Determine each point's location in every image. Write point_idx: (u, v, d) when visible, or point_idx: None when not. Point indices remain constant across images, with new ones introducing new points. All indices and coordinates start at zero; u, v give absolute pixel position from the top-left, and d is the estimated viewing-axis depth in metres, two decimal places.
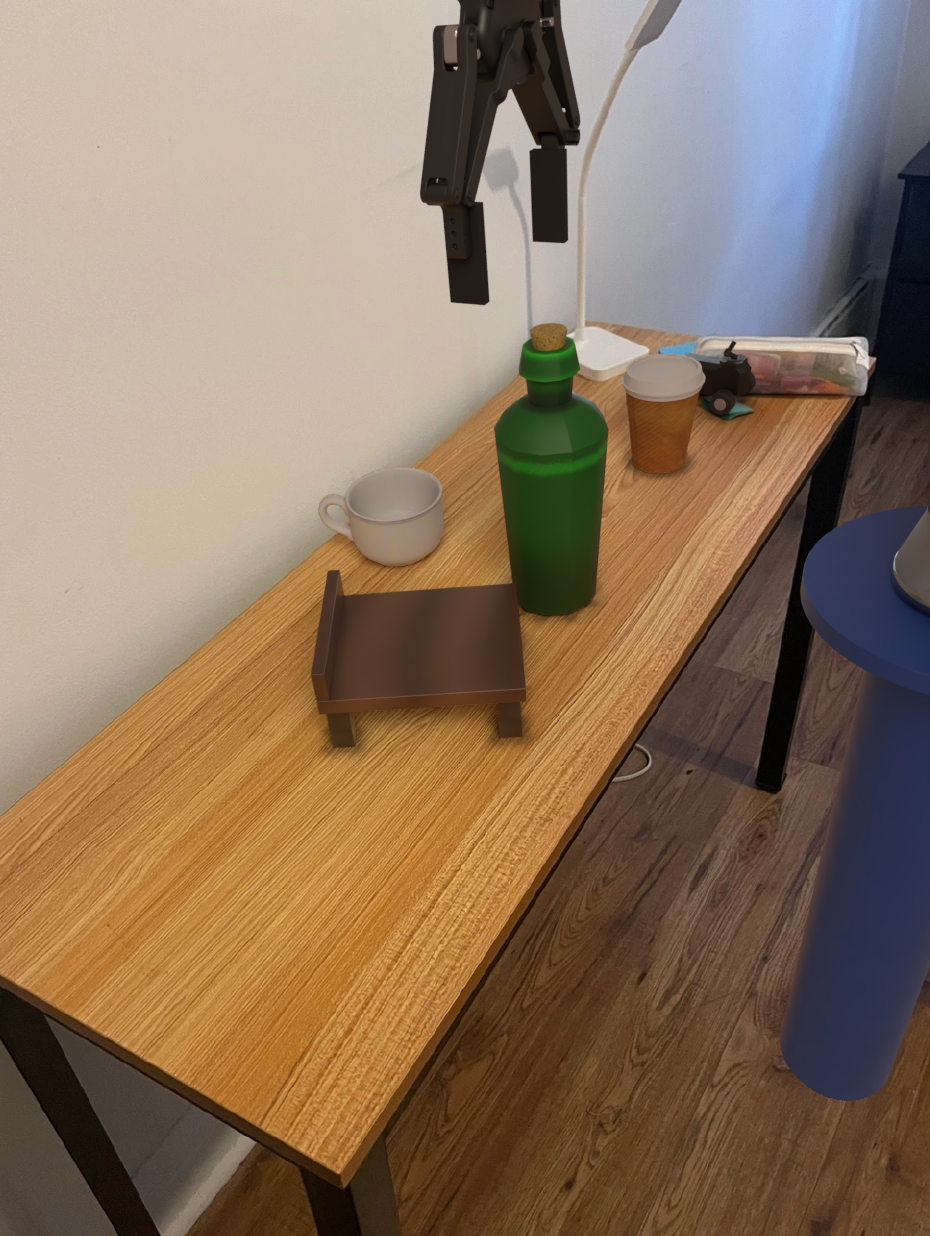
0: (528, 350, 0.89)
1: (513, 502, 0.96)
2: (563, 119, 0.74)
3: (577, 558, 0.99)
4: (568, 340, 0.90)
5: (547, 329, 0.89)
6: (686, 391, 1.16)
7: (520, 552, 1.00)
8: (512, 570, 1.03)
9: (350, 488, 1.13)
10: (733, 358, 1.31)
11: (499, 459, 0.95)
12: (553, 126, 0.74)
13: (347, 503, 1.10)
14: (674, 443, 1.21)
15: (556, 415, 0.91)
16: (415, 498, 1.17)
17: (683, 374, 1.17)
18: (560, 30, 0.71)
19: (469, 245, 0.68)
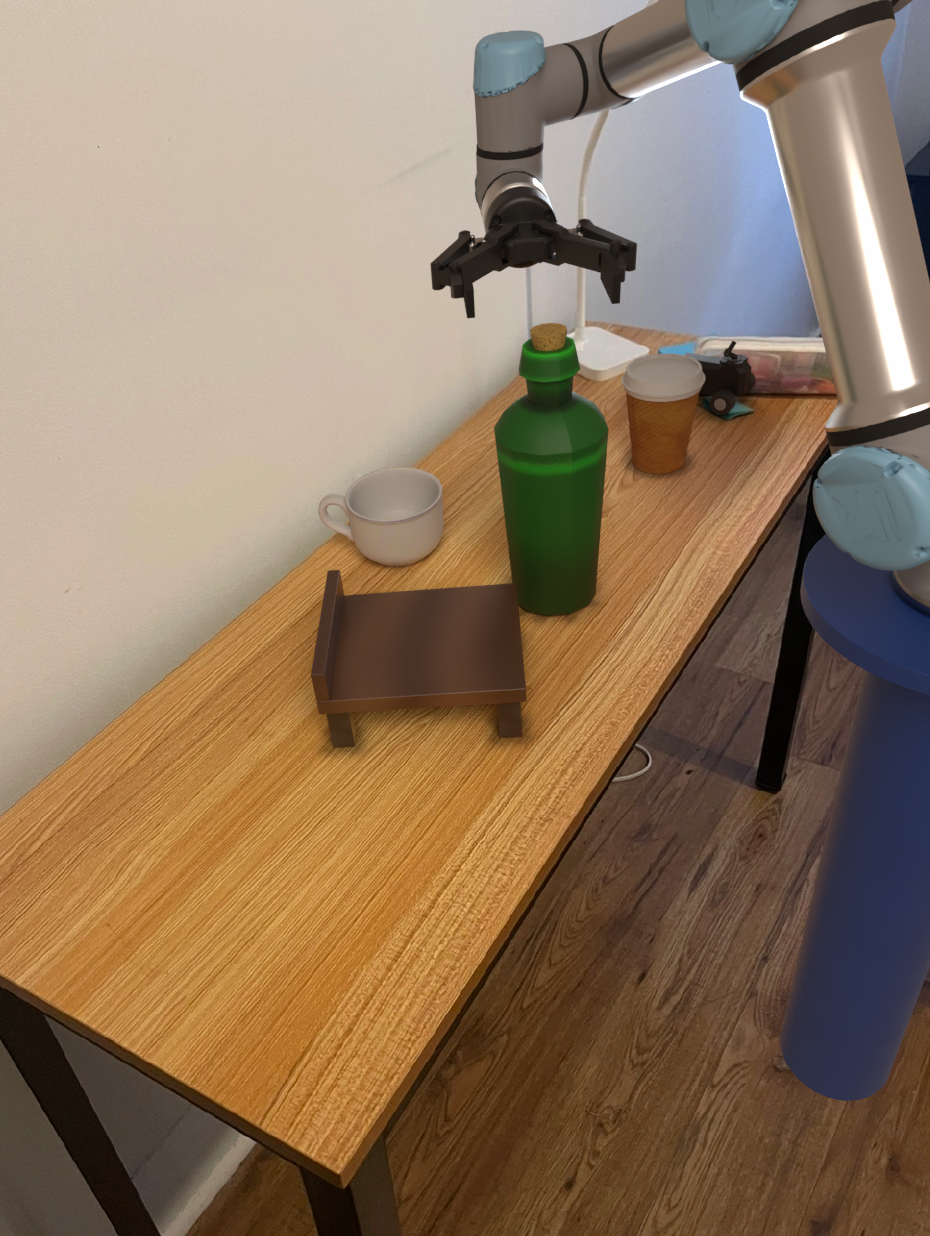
0: (528, 350, 0.89)
1: (513, 502, 0.96)
2: (603, 244, 1.00)
3: (577, 558, 0.99)
4: (568, 340, 0.90)
5: (547, 329, 0.89)
6: (686, 391, 1.16)
7: (520, 552, 1.00)
8: (512, 570, 1.03)
9: (350, 488, 1.13)
10: (733, 358, 1.31)
11: (499, 459, 0.95)
12: (594, 250, 1.00)
13: (347, 503, 1.10)
14: (674, 443, 1.21)
15: (556, 415, 0.91)
16: (415, 498, 1.17)
17: (683, 374, 1.17)
18: (592, 226, 1.04)
19: (459, 280, 0.98)
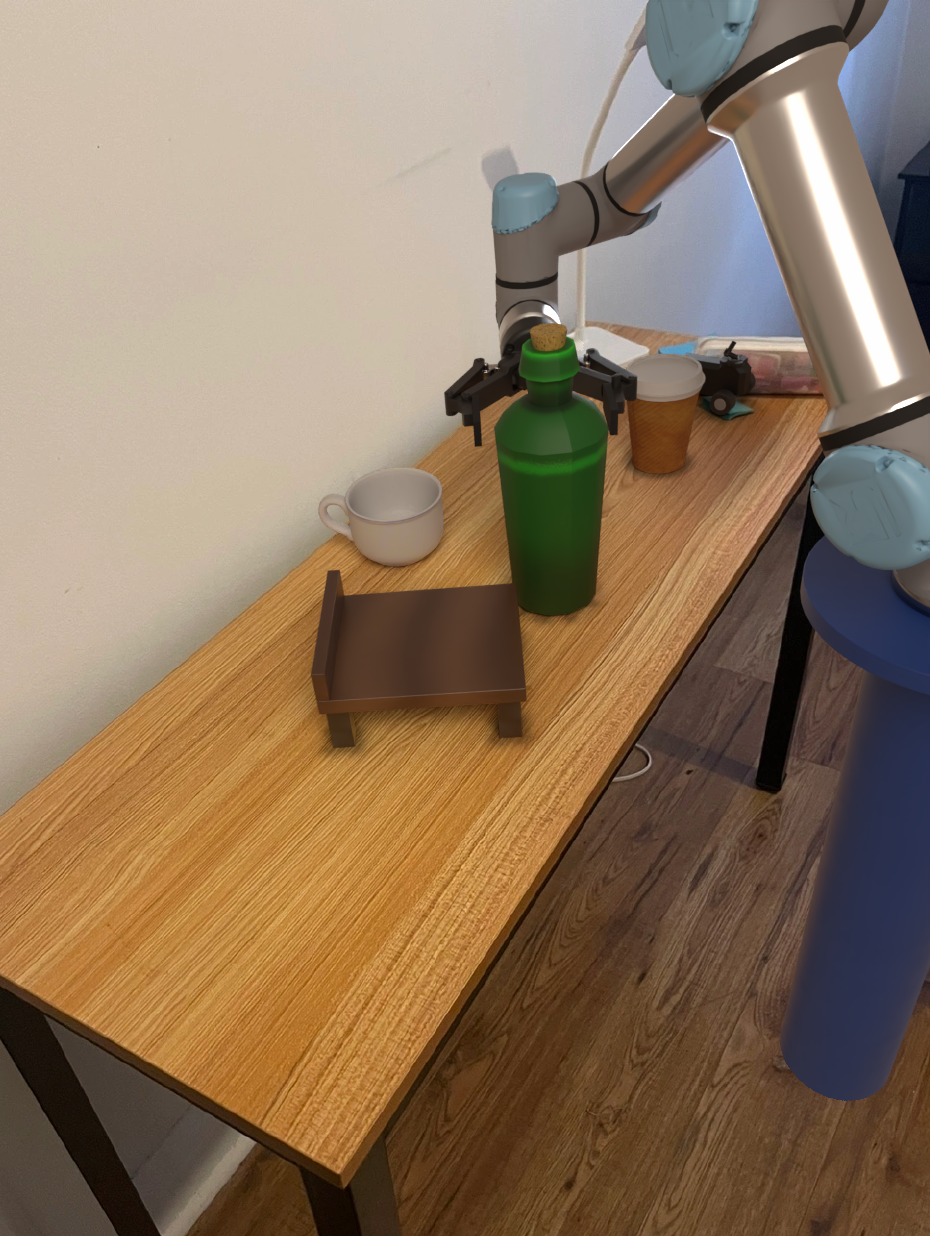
0: (528, 350, 0.89)
1: (513, 502, 0.96)
2: (606, 376, 1.07)
3: (577, 558, 0.99)
4: (568, 340, 0.90)
5: (547, 329, 0.89)
6: (686, 391, 1.16)
7: (520, 552, 1.00)
8: (512, 570, 1.03)
9: (350, 488, 1.13)
10: (733, 358, 1.31)
11: (499, 459, 0.95)
12: (597, 381, 1.07)
13: (347, 503, 1.10)
14: (674, 443, 1.21)
15: (556, 415, 0.91)
16: (415, 498, 1.17)
17: (683, 374, 1.17)
18: (598, 356, 1.11)
19: (468, 410, 1.05)
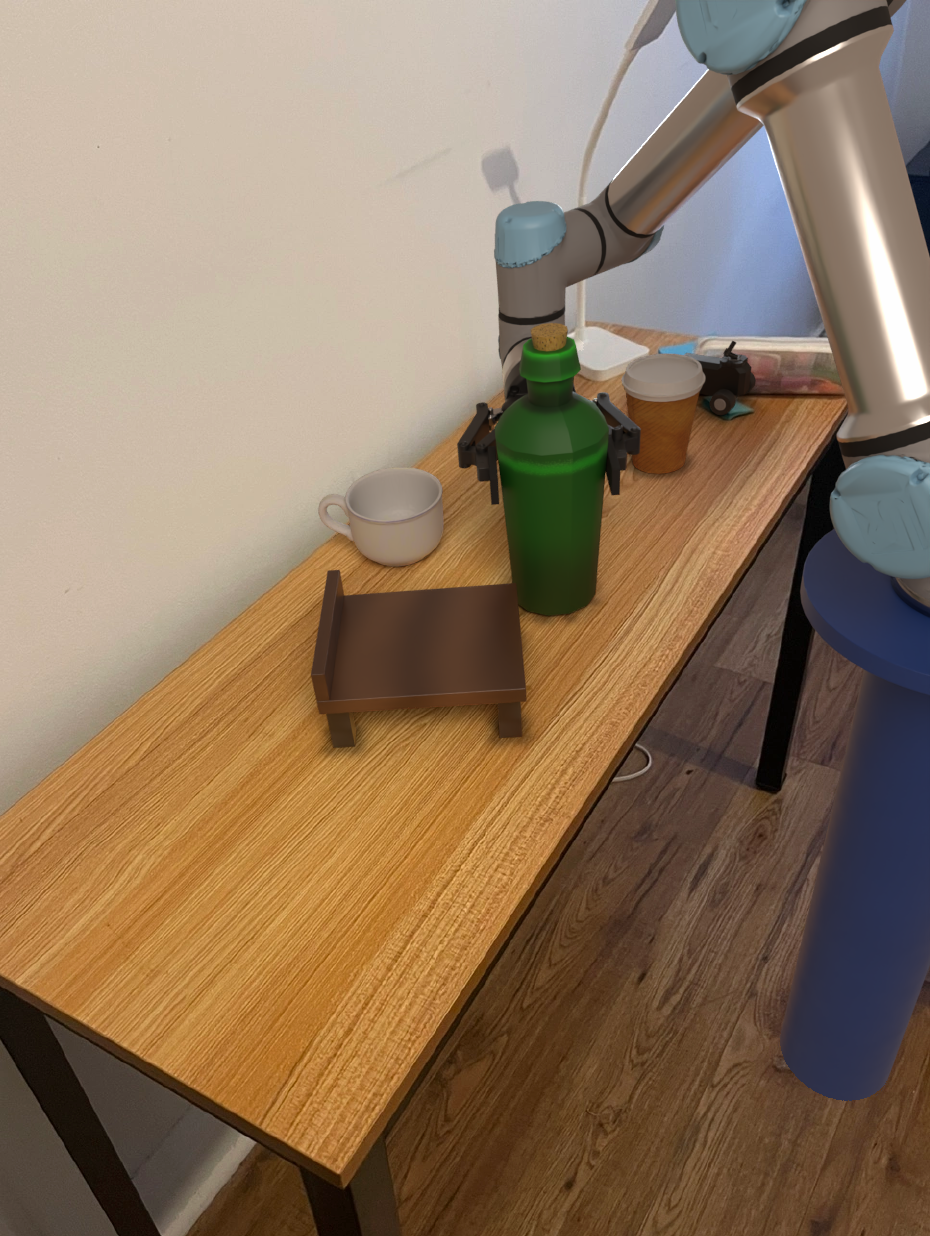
0: (528, 350, 0.89)
1: (514, 502, 0.96)
2: (608, 427, 0.99)
3: (577, 558, 0.99)
4: (569, 340, 0.90)
5: (548, 329, 0.89)
6: (686, 391, 1.16)
7: (520, 552, 1.00)
8: (512, 570, 1.03)
9: (350, 488, 1.13)
10: (733, 358, 1.31)
11: (499, 459, 0.95)
12: None
13: (347, 503, 1.10)
14: (674, 443, 1.21)
15: (557, 416, 0.91)
16: (415, 498, 1.17)
17: (683, 374, 1.17)
18: (608, 402, 1.03)
19: (484, 464, 0.97)
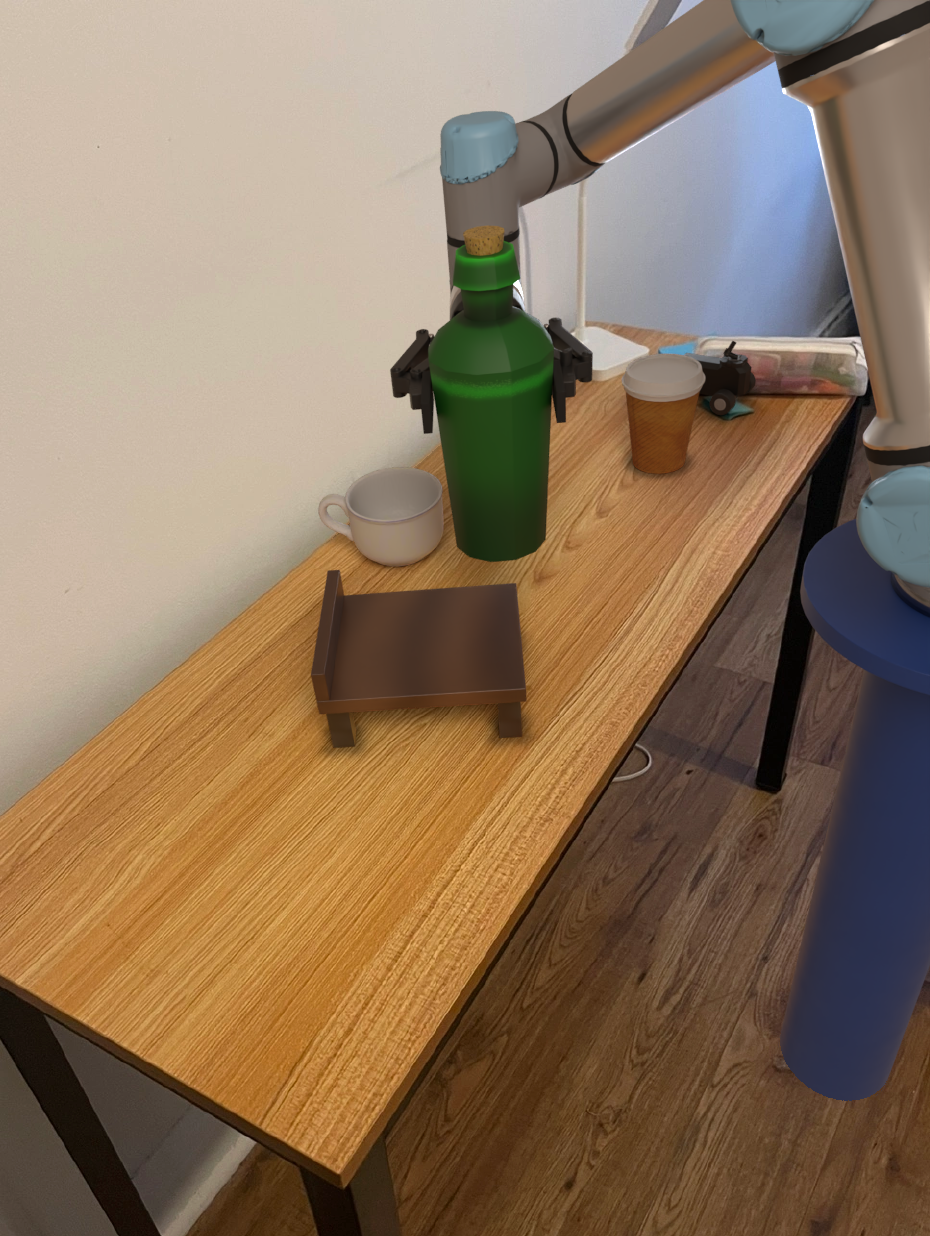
0: (460, 255, 0.79)
1: (449, 431, 0.86)
2: (557, 352, 0.89)
3: (522, 497, 0.89)
4: (507, 245, 0.80)
5: (482, 231, 0.79)
6: (686, 391, 1.16)
7: (459, 490, 0.90)
8: (452, 512, 0.93)
9: (350, 488, 1.13)
10: (733, 358, 1.31)
11: (433, 383, 0.85)
12: None
13: (347, 503, 1.10)
14: (674, 443, 1.21)
15: (493, 330, 0.81)
16: (415, 498, 1.17)
17: (683, 374, 1.17)
18: (559, 327, 0.94)
19: (418, 390, 0.87)
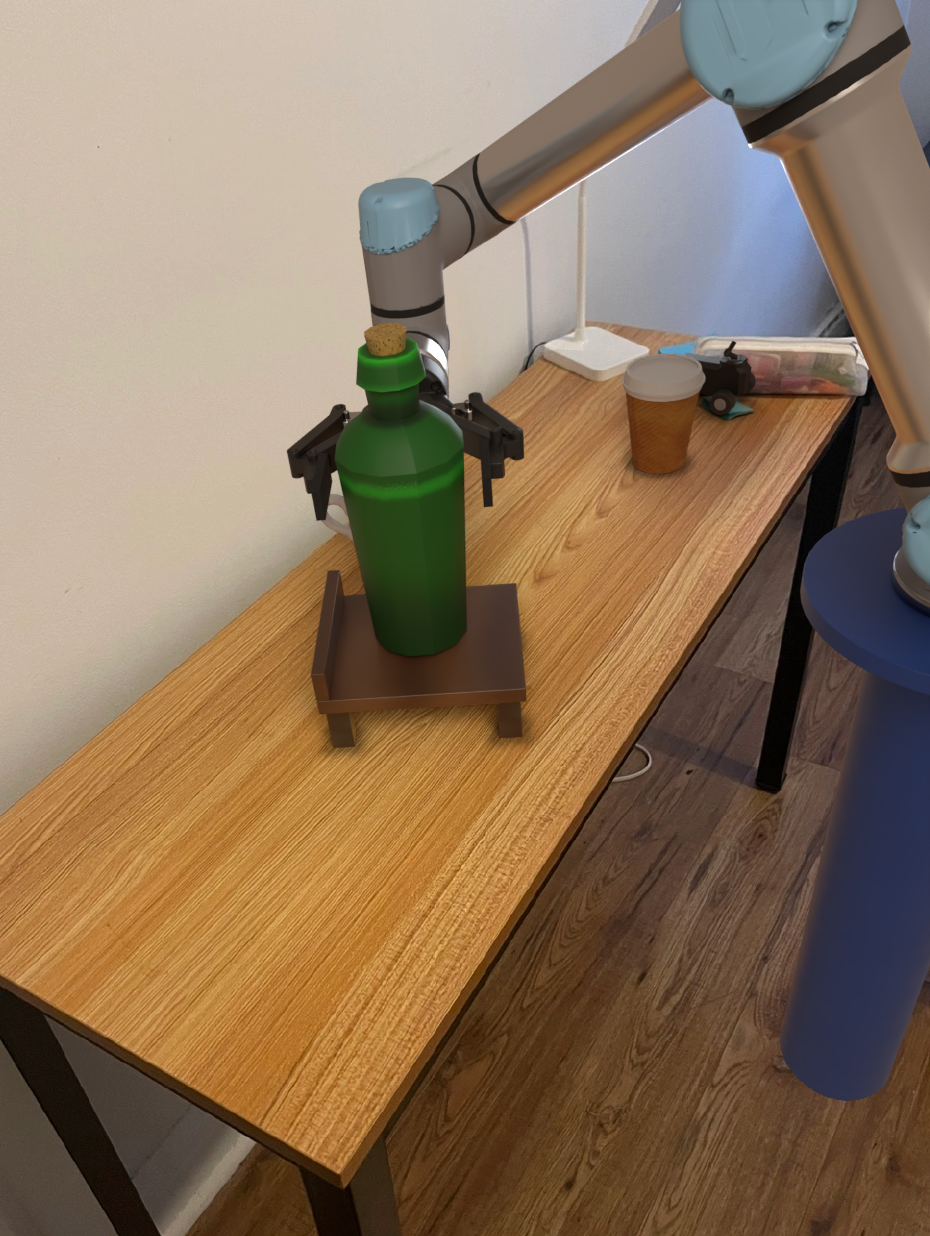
0: (362, 355, 0.76)
1: (359, 529, 0.83)
2: (485, 430, 0.86)
3: (437, 593, 0.86)
4: (410, 343, 0.77)
5: (384, 330, 0.76)
6: (686, 391, 1.16)
7: (372, 586, 0.87)
8: (369, 605, 0.90)
9: None
10: (733, 358, 1.31)
11: (340, 480, 0.82)
12: (475, 436, 0.87)
13: None
14: (674, 443, 1.21)
15: (398, 431, 0.78)
16: None
17: (683, 374, 1.17)
18: (481, 402, 0.91)
19: (312, 474, 0.85)
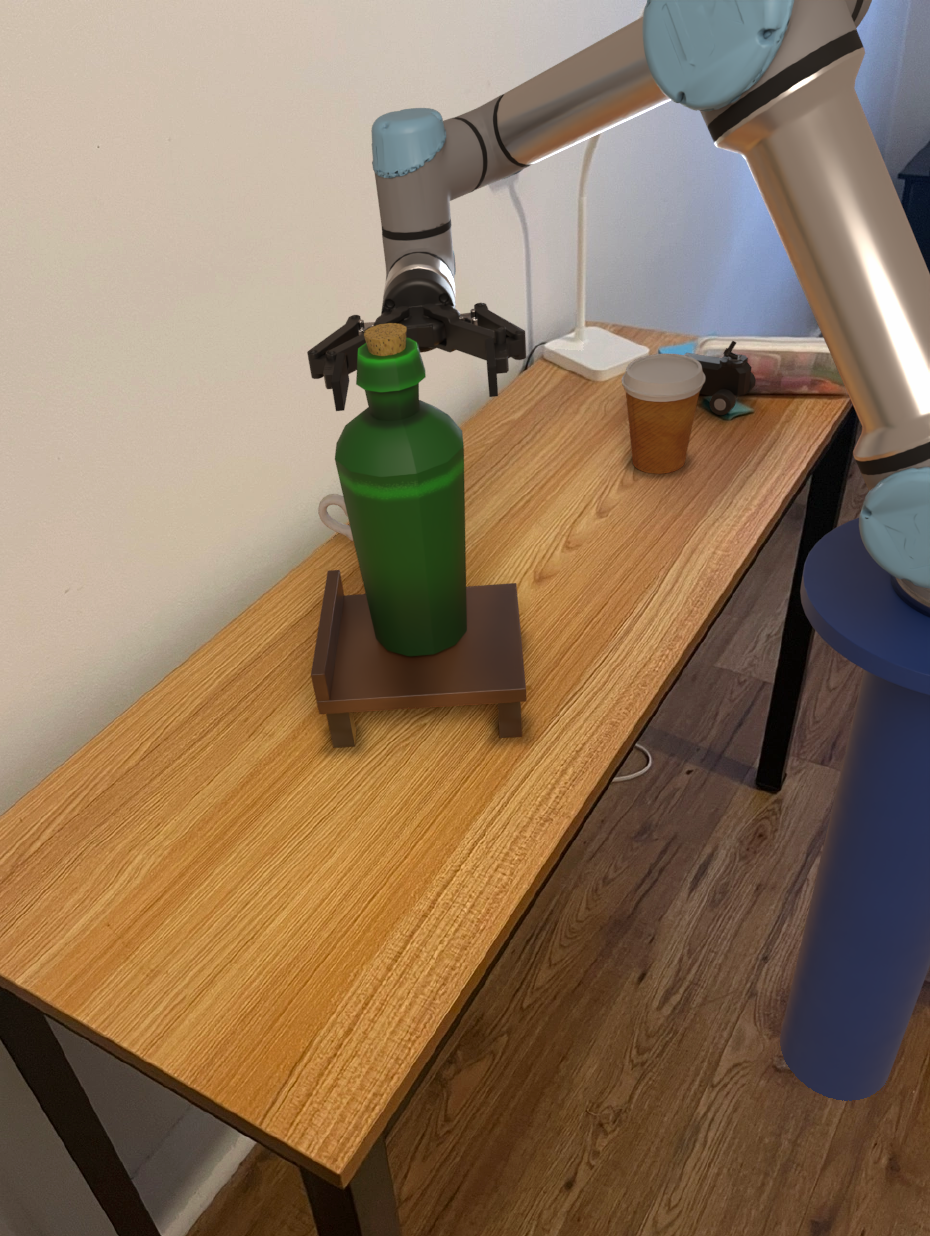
0: (362, 355, 0.76)
1: (359, 529, 0.83)
2: (490, 331, 0.94)
3: (437, 593, 0.86)
4: (410, 343, 0.77)
5: (384, 330, 0.76)
6: (686, 391, 1.16)
7: (372, 586, 0.87)
8: (369, 605, 0.90)
9: None
10: (733, 358, 1.31)
11: (340, 480, 0.82)
12: (481, 337, 0.94)
13: None
14: (674, 443, 1.21)
15: (398, 431, 0.78)
16: None
17: (683, 374, 1.17)
18: (486, 310, 0.98)
19: (331, 370, 0.92)
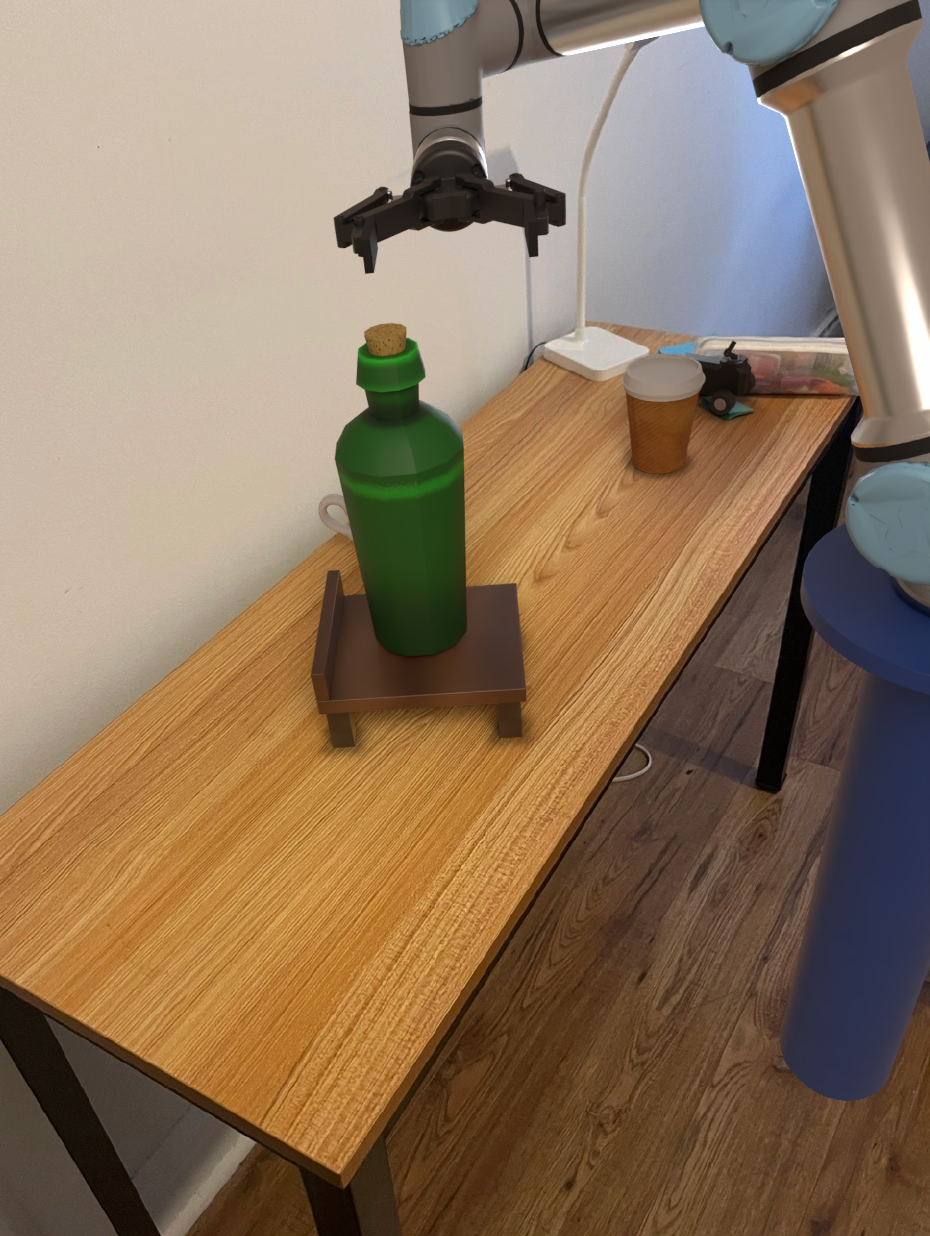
0: (362, 355, 0.76)
1: (359, 529, 0.83)
2: (528, 195, 0.88)
3: (437, 593, 0.86)
4: (410, 343, 0.77)
5: (384, 330, 0.76)
6: (686, 391, 1.16)
7: (372, 586, 0.87)
8: (369, 605, 0.90)
9: None
10: (733, 358, 1.31)
11: (340, 480, 0.82)
12: (518, 202, 0.89)
13: None
14: (674, 443, 1.21)
15: (398, 431, 0.78)
16: None
17: (683, 374, 1.17)
18: (522, 179, 0.93)
19: (360, 233, 0.87)
